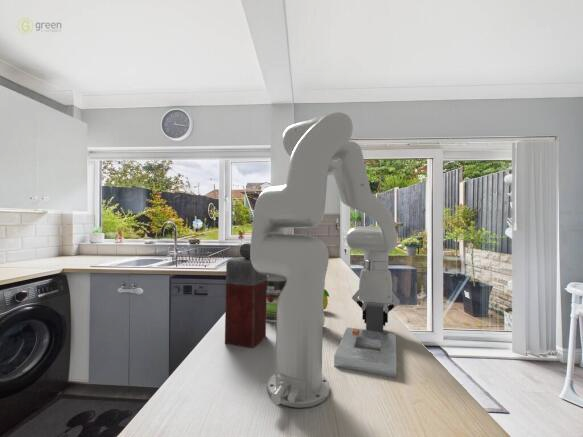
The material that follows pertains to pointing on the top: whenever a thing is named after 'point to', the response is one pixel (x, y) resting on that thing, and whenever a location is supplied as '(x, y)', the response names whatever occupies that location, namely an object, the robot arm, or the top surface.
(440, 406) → the top surface
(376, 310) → the plug
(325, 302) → the lemon
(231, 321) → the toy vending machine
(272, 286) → the coffee can
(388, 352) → the socket plate
